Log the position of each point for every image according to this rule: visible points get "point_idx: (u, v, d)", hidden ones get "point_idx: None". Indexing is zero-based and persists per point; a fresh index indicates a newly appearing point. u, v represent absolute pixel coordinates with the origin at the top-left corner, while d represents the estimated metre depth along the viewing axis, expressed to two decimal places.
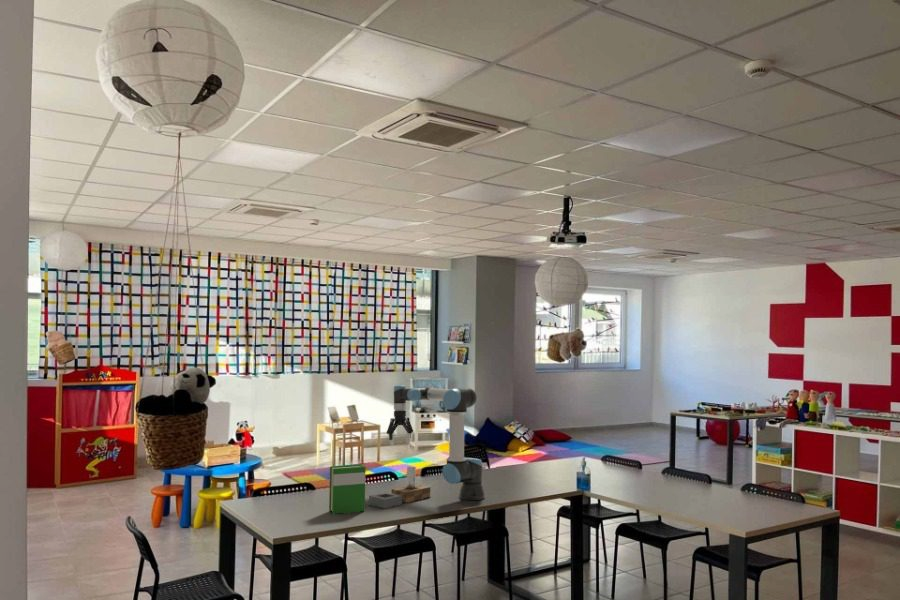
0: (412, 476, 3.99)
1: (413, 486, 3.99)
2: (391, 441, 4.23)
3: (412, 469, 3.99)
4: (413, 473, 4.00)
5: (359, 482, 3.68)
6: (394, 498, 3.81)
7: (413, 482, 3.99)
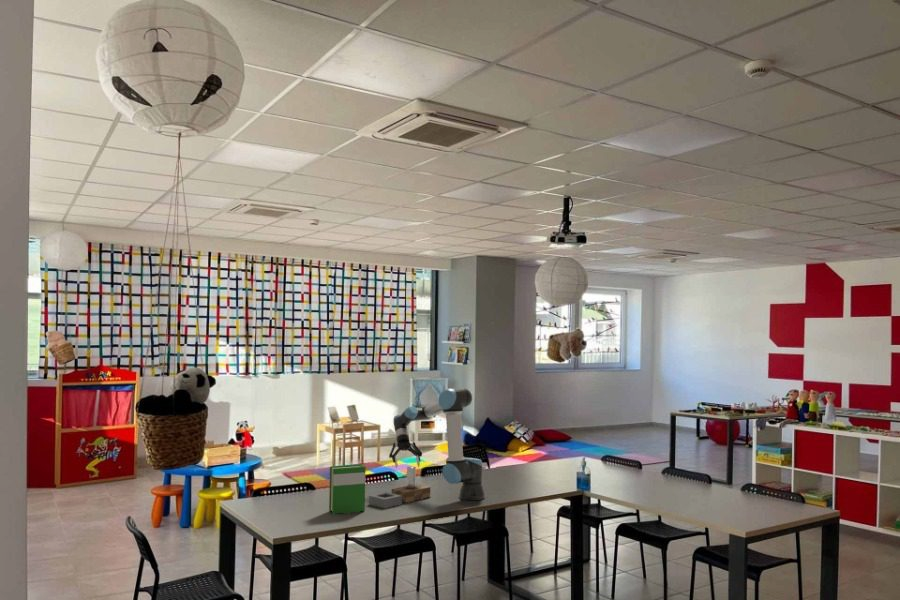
0: (412, 476, 3.99)
1: (413, 486, 3.99)
2: (395, 463, 4.07)
3: (412, 469, 3.99)
4: (413, 473, 4.00)
5: (359, 482, 3.68)
6: (394, 498, 3.81)
7: (413, 482, 3.99)
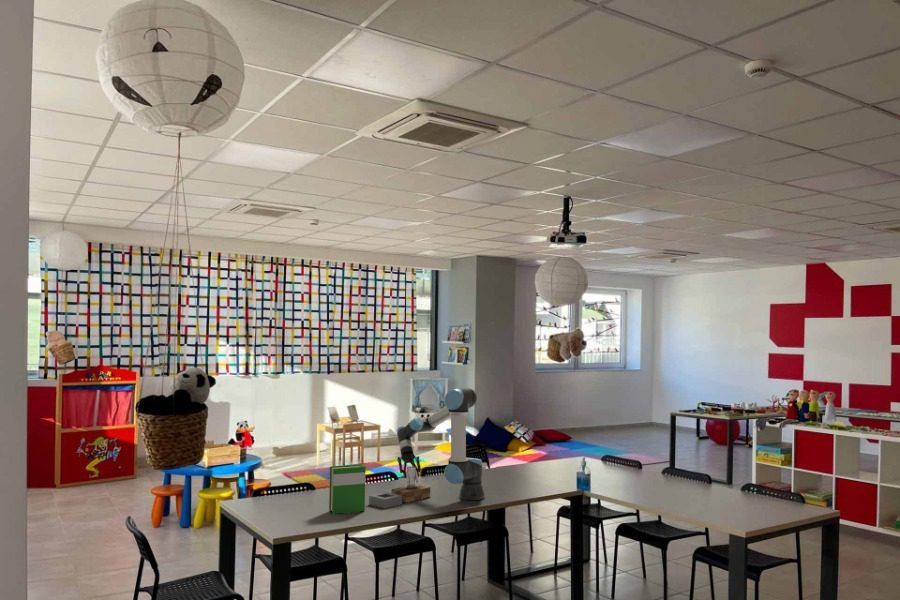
0: (412, 476, 3.99)
1: (413, 486, 3.99)
2: (406, 478, 3.98)
3: (412, 469, 3.99)
4: (413, 473, 4.00)
5: (359, 482, 3.68)
6: (394, 498, 3.81)
7: (413, 482, 3.99)
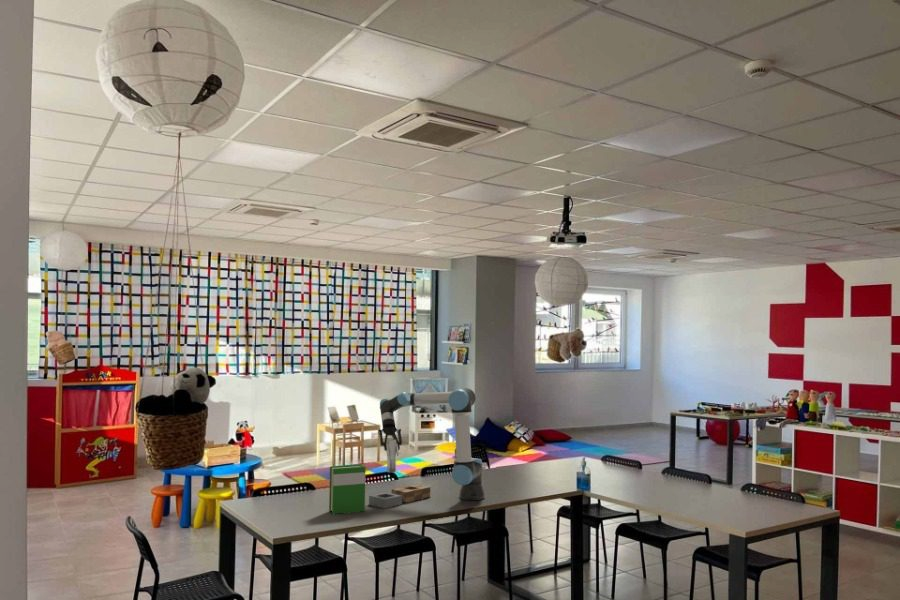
0: (392, 449, 3.90)
1: (393, 459, 3.91)
2: (386, 451, 3.90)
3: (393, 442, 3.91)
4: (394, 446, 3.91)
5: (359, 482, 3.68)
6: (394, 498, 3.81)
7: (393, 455, 3.91)
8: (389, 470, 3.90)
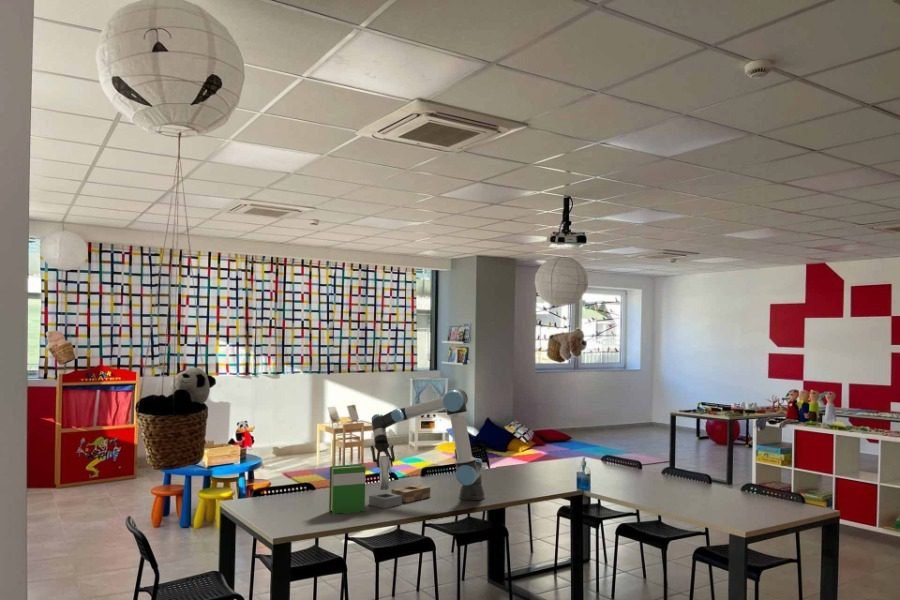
0: (385, 466, 3.84)
1: (386, 476, 3.84)
2: (379, 468, 3.83)
3: (385, 458, 3.84)
4: (386, 462, 3.84)
5: (359, 482, 3.68)
6: (394, 498, 3.81)
7: (386, 472, 3.84)
8: (382, 487, 3.83)
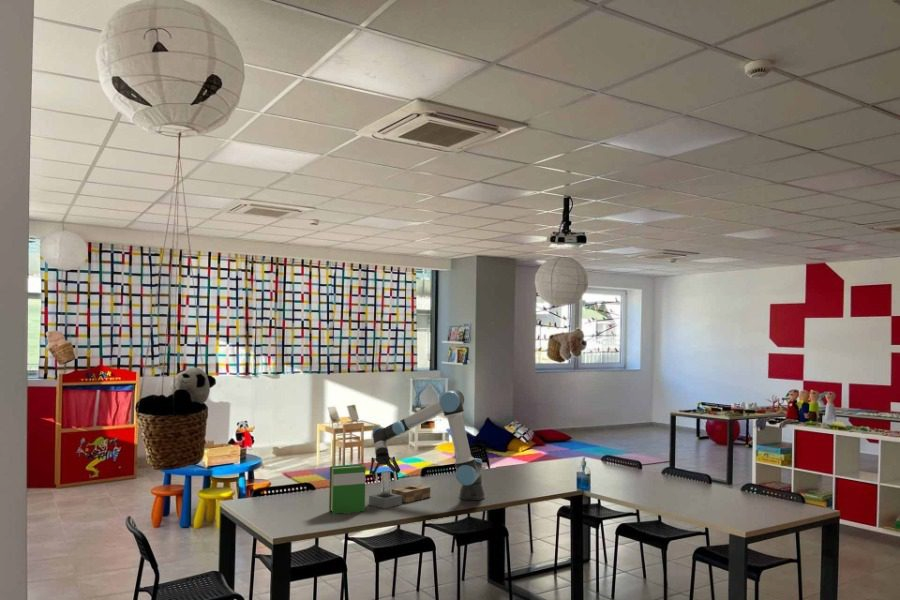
0: (386, 482, 3.83)
1: (387, 492, 3.83)
2: (376, 480, 3.82)
3: (386, 474, 3.83)
4: (387, 478, 3.84)
5: (359, 482, 3.68)
6: (394, 498, 3.81)
7: (387, 488, 3.83)
8: None
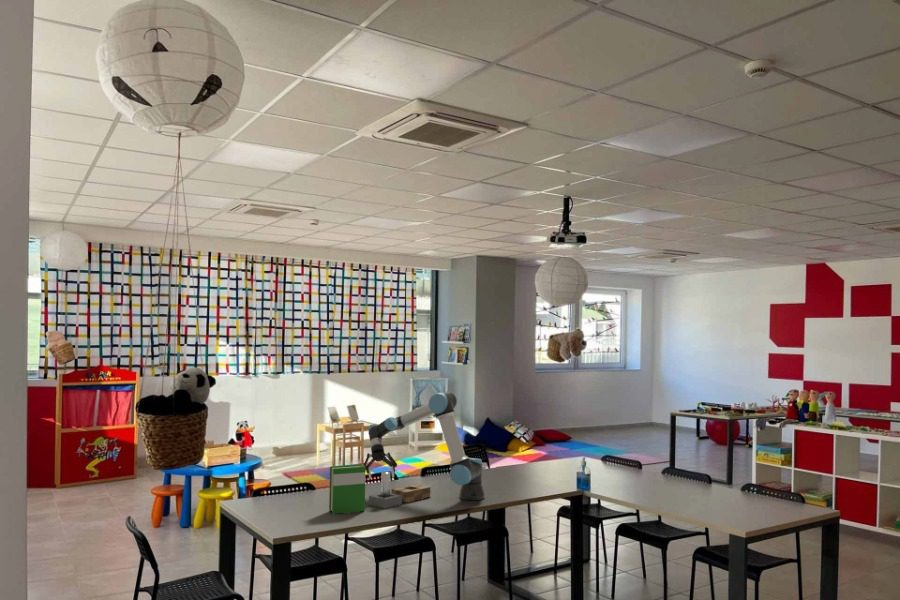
0: (386, 482, 3.83)
1: (387, 492, 3.83)
2: (369, 474, 3.95)
3: (386, 474, 3.83)
4: (387, 478, 3.84)
5: (359, 482, 3.68)
6: (394, 498, 3.81)
7: (387, 488, 3.83)
8: None
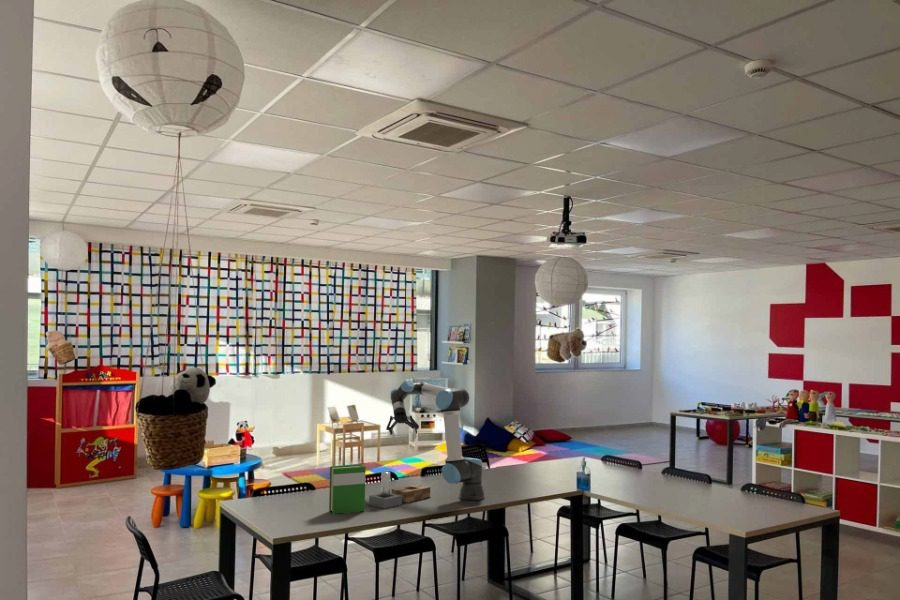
0: (386, 482, 3.83)
1: (387, 492, 3.83)
2: (392, 435, 4.12)
3: (386, 474, 3.83)
4: (387, 478, 3.84)
5: (359, 482, 3.68)
6: (394, 498, 3.81)
7: (387, 488, 3.83)
8: None
